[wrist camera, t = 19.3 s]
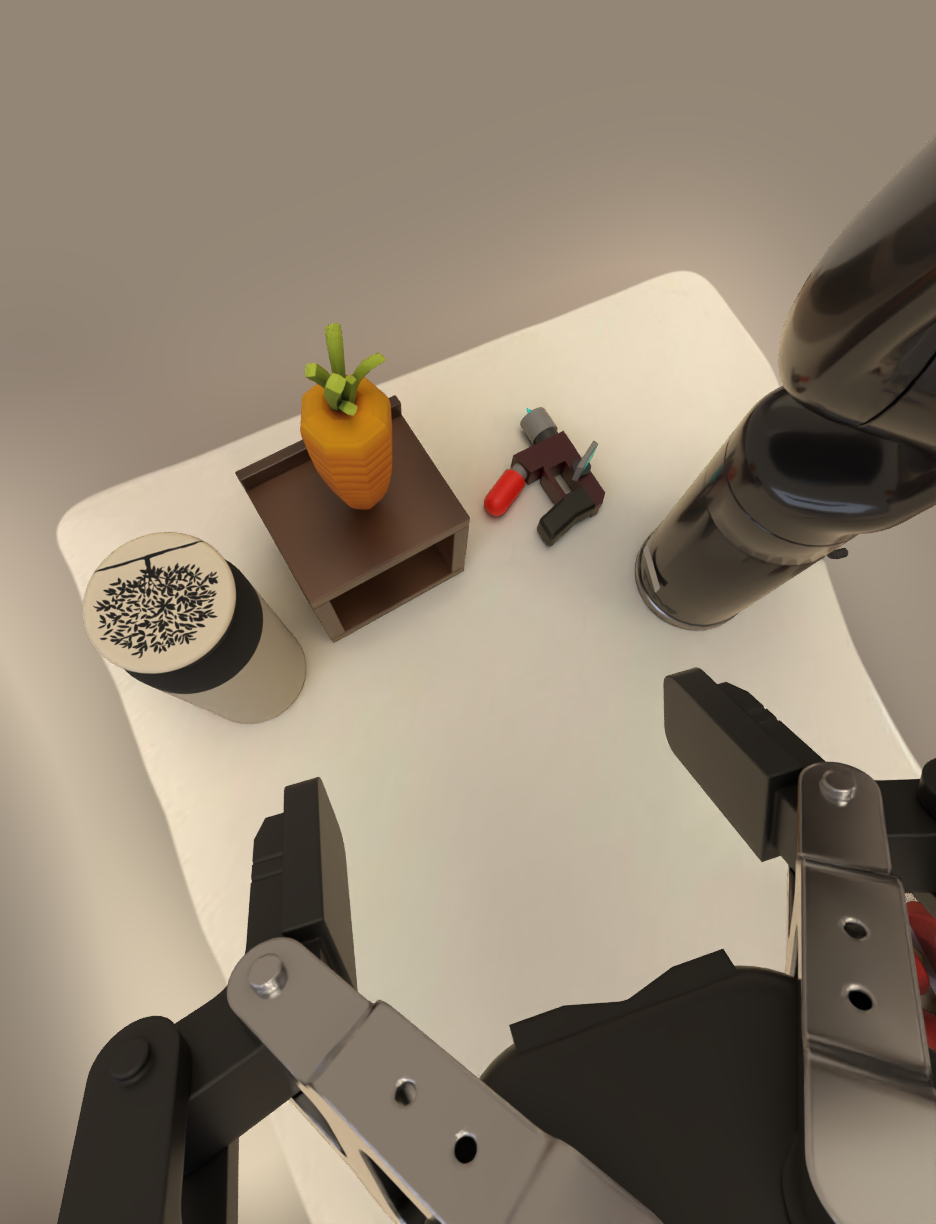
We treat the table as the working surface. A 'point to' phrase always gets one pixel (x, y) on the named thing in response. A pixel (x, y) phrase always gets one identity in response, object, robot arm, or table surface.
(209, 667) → the travel mug
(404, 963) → the table surface
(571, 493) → the toy gun
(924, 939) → the toy fire truck
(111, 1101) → the robot arm
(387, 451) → the carrot
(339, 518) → the shelf
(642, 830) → the table surface
